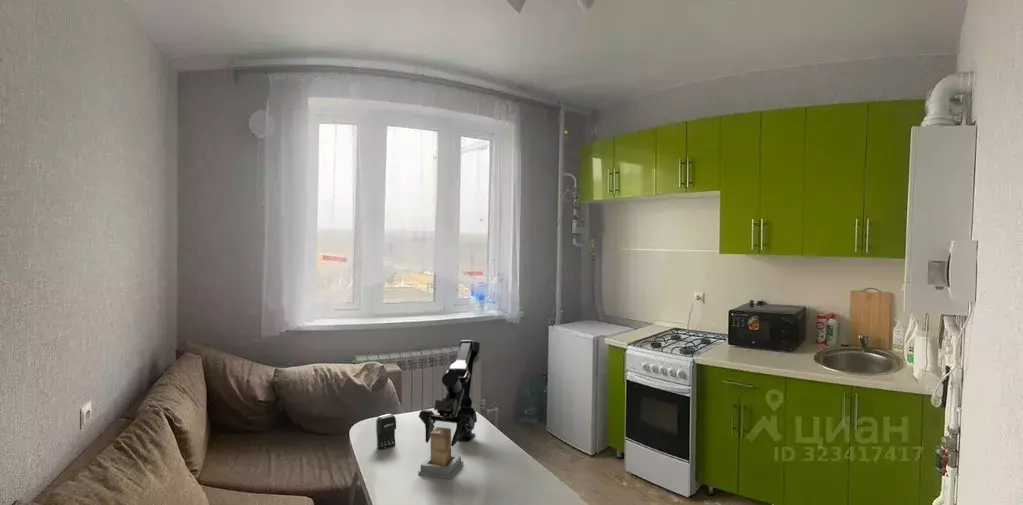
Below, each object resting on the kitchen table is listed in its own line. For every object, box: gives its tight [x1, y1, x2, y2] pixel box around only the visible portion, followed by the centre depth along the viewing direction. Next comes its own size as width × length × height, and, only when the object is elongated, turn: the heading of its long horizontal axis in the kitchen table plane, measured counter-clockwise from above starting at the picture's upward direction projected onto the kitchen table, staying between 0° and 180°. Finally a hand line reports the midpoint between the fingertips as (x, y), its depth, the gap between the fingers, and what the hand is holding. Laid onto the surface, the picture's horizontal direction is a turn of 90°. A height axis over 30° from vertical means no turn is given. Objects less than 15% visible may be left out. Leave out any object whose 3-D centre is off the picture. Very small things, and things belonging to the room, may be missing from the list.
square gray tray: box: [417, 454, 464, 480], centre depth 167 cm, size 11×11×3 cm
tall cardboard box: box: [430, 426, 452, 466], centre depth 167 cm, size 5×5×12 cm
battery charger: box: [375, 413, 397, 450], centre depth 185 cm, size 7×4×11 cm, turn 128°
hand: (439, 444), depth 165 cm, fingers open, 9 cm apart
